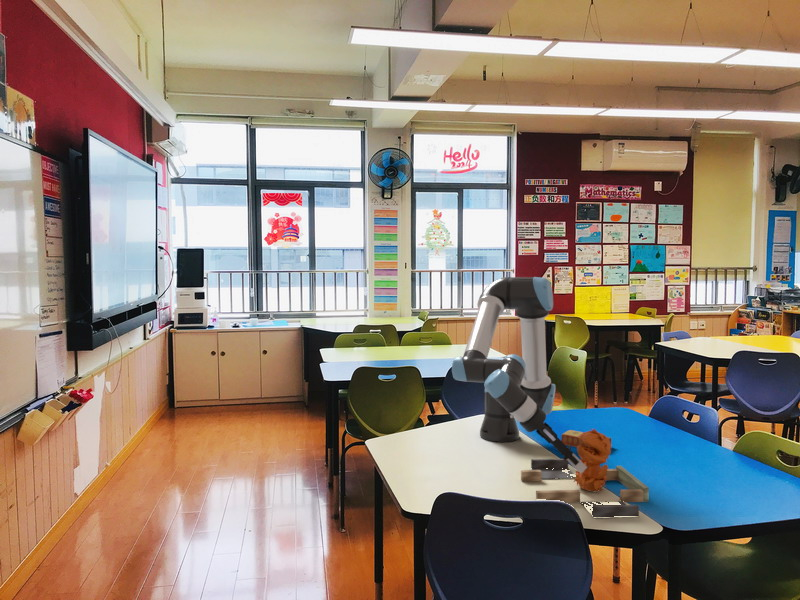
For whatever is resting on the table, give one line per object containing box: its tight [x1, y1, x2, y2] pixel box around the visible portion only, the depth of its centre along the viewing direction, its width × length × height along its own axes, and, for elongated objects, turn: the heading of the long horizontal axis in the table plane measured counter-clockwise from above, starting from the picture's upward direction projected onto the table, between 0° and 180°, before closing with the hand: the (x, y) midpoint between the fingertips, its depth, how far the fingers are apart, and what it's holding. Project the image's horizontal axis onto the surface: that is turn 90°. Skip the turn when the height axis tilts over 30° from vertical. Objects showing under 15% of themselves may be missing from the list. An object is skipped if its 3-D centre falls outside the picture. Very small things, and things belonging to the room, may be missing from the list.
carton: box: [560, 429, 612, 448], centre depth 209 cm, size 8×16×4 cm, turn 52°
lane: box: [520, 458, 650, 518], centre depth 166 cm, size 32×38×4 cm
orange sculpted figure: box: [573, 428, 612, 492], centre depth 166 cm, size 11×11×18 cm
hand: (583, 469), depth 166 cm, fingers closed
